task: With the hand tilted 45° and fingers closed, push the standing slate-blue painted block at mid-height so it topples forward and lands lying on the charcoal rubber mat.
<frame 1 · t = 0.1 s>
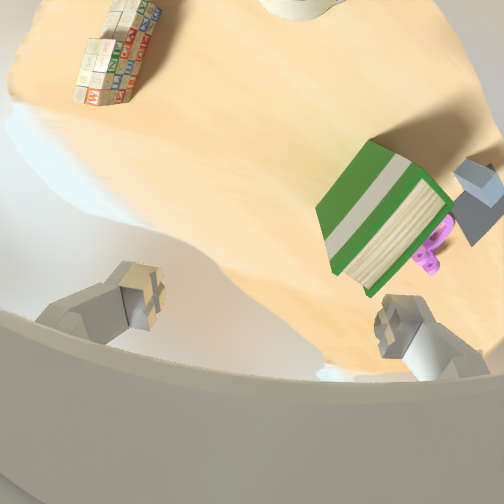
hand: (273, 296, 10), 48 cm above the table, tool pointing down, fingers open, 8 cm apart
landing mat: (481, 206, 53), on the table
hardback book: (355, 184, 55), on the table
stack of blocks: (132, 53, 46), on the table
bracket: (431, 234, 58), on the table
slate block: (463, 173, 50), on the table
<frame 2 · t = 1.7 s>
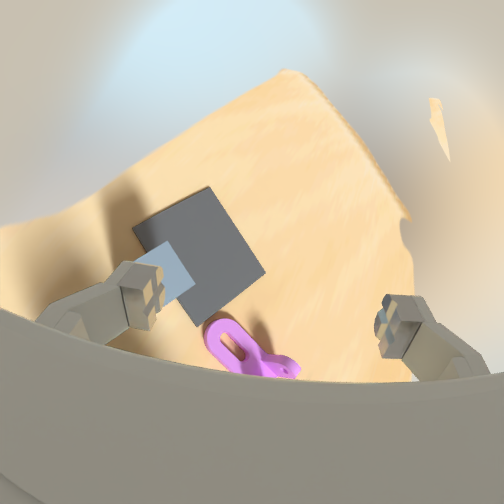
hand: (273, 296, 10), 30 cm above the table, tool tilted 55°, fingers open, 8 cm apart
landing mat: (202, 252, 42), on the table
bracket: (238, 355, 41), on the table
slate block: (142, 292, 37), on the table
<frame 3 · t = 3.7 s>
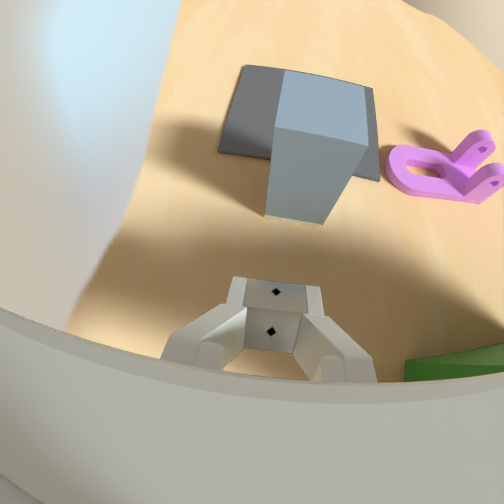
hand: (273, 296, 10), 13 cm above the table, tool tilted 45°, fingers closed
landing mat: (306, 113, 29), on the table
hardback book: (470, 384, 21), on the table
bracket: (433, 178, 28), on the table
slate block: (296, 196, 26), on the table
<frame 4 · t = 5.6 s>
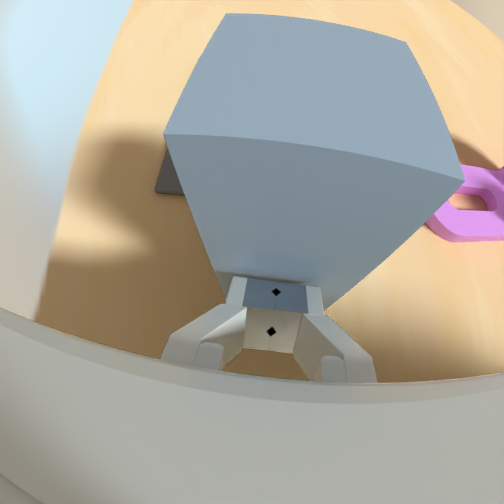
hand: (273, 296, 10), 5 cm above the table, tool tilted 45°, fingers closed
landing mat: (293, 118, 19), on the table
bracket: (477, 208, 18), on the table
slate block: (279, 262, 16), on the table, tilted 5°
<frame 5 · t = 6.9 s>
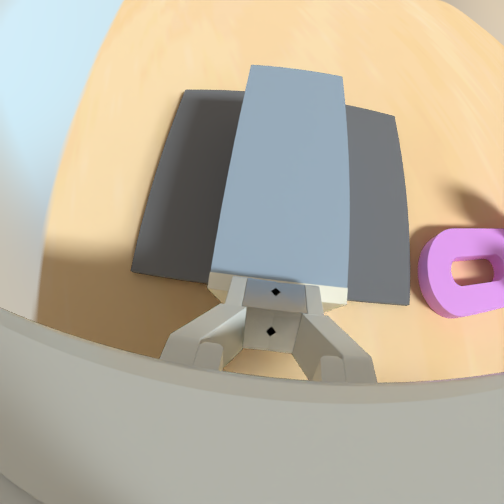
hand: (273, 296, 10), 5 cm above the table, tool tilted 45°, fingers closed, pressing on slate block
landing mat: (284, 177, 18), on the table
bracket: (483, 272, 16), on the table
slate block: (273, 304, 13), point 3 cm above the table, tilted 90°, touching gripper, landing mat
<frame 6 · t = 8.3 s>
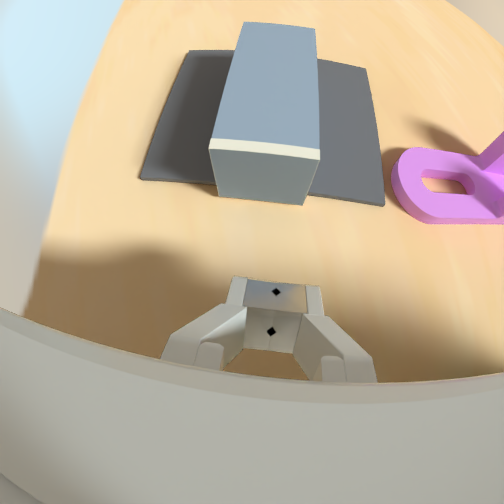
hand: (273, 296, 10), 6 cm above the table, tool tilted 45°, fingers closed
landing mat: (271, 108, 20), on the table
bracket: (456, 192, 19), on the table
slate block: (262, 180, 15), point 3 cm above the table, tilted 90°, touching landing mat
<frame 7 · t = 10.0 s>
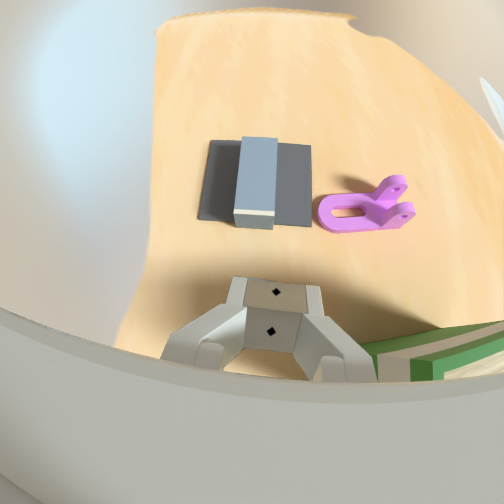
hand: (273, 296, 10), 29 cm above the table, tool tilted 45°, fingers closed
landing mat: (258, 179, 44), on the table
hardback book: (393, 363, 36), on the table
bracket: (357, 214, 42), on the table
slate block: (254, 222, 39), point 3 cm above the table, tilted 90°, touching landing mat
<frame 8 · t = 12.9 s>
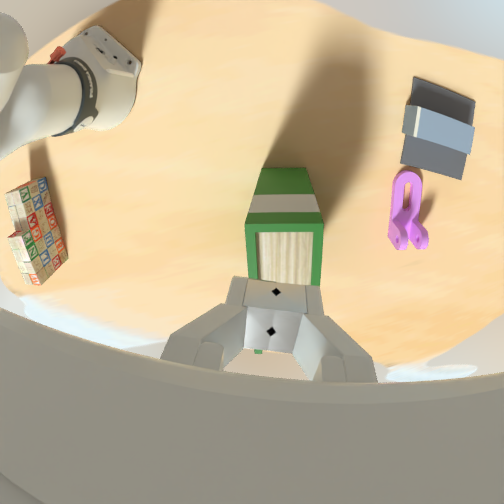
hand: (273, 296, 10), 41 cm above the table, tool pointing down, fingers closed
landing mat: (440, 130, 41), on the table
hardback book: (284, 215, 53), on the table
stack of blocks: (49, 219, 58), on the table
bracket: (403, 203, 49), on the table
slate block: (409, 119, 39), point 3 cm above the table, tilted 90°, touching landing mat
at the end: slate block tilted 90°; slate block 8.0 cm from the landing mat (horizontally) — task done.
